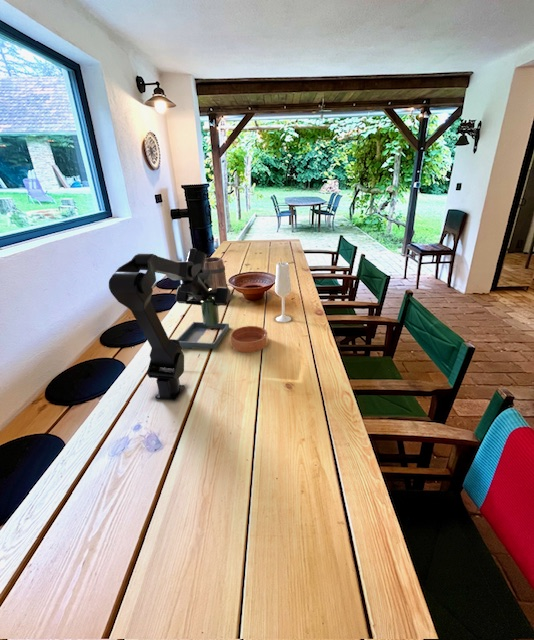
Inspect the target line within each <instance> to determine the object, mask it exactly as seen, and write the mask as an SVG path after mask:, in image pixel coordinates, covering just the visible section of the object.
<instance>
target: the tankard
mask: <svg viewBox="0 0 534 640" xmlns="http://www.w3.org/2000/svg"><path fill="white" fill-rule="evenodd" d="M203 270H210V271H211V274H212V277H213V278H212V280H211V282H210V285H211V289H212V290H214V289H217V288H218V287H228V283H227V277H226V276H227V275H226V266H225V264H224V260H223V258H222V257H217V256H214V257H210V256H209V257H206V260H205V264H204V269H203ZM228 288H229V287H228ZM232 299H233V295H232V294H231V293H230V295H229V301H230V300H232Z"/></svg>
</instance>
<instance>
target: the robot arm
mask: <svg viewBox="0 0 534 640" xmlns="http://www.w3.org/2000/svg"><path fill="white" fill-rule="evenodd" d="M206 258H207V253H206V252H203V251H201V250H200V249H199V250H198V249H197V248H196V247H193V248H192V247H190V248H189V251H188V254H187V259H186V260H185V261H182V260H180V261H179V260H172V259H168V258H165V257H161V256H158V255H157V254H155V253H137V254H135V255H134V256H133V257H132V258H131V260H129V261H128V262H125V263H124V264H123V265H121V266H118V268H117V269H116V270H115V272H114V273H113V274H112V275H111V277H110V278H109V280H108V289H109V291H110V293H111V295H112V296H113V297H114V298H115V300H116V301H117V302H118V303H119V304H121V305H123V306H124V307H126V308H127V309H129V310H130V312H131V313H132V315H133V317H134V319H135V321H136V322H137V324H138V326H139V328H140V330H141V331H142V333H143V334H144V335H143V336H144V337H145V338H146V340H147V342H148V344H149V346H150V348H151V349H150V352H149V358H150V360H149V364H148V368H147V372H146V375H147V376H148V378H150V379H156V386H157V390H158V392H157V393H156V394H155V395H154V398H155V399H159V400H166V401H167V400H168V401H177V399H178V398H179V396H180V395H181V394H182V392H183V391H184V390H185V388H186V386H185V385H183V384H181V382H180V377H181V376H182V375H183V374H184V372H185V354H184V352H183V349H184V348H181V346H180V343H179V341H178V340H177V339H173V338H169V336H168V334H167V332H166V330H165V328H164V326H163V324H162V322H161V320H160V318H159V316H158V313H157V311H156V310H155V308H154V305H153V304H152V301H151V300H152V295H153V292H154V290H153V286H154V285H155V283H156V282H157V276H156V273H157V274H162V275H165V276H166V277H167V278H168V279H170V280H172V281H179V283H180V285H179V286H177V290H176V294H175V301H176V302H177V304H186V305H193V306H201V301H204V302H207V300H208V299H209V297H213V299H214V300H213V306H218V307H220V306H224V307H225V306H228V305H229V301H230V300H229V295H230V294H231V290H230V288H229V287H218V288H217V289H214V290H209V289H211V285H210V282H211V280H212V278H213V277H212V274H211V271H210V270H203V269H204V264H205V260H206ZM140 271H141V272H140ZM142 271H146V272H142Z"/></svg>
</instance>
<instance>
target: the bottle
mask: <svg viewBox="0 0 534 640" xmlns="http://www.w3.org/2000/svg"><path fill="white" fill-rule="evenodd" d="M209 290H212V289H209ZM213 300H214V299H213V297H209V299H208V300H207V302H204V301H201V305H200V307H201V308H200V309H201V316H202V322H203V324H205V325H215V324H218V323H220V315H219V314H220V313H219V306H213Z"/></svg>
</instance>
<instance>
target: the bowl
mask: <svg viewBox="0 0 534 640" xmlns="http://www.w3.org/2000/svg"><path fill="white" fill-rule="evenodd" d="M229 337H230V344H231V348H232V349H233V350H234V351H237V352H240V353H256V352H259V351H262V350H264V348H266V347H267V346H268V343H269V338H268V331H267V330H266V329H265V328H263V327H262V326H258V325H246V326H241V327H237V328H235V329H234V330H232V331H231V332H230V336H229Z"/></svg>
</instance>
